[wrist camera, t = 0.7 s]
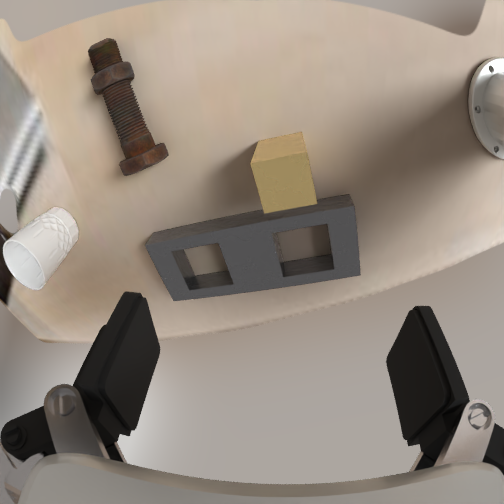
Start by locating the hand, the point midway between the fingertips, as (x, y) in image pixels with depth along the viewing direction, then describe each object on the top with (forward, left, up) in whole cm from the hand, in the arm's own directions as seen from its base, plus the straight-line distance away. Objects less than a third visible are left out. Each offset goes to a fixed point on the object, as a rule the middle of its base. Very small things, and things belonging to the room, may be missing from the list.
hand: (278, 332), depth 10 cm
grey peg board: (+6, +11, -24) cm, 27 cm away
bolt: (+14, -10, -24) cm, 30 cm away
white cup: (+33, +2, -24) cm, 41 cm away
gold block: (0, +1, -24) cm, 24 cm away
